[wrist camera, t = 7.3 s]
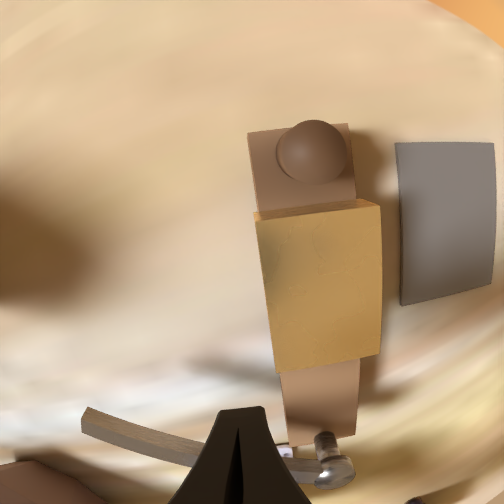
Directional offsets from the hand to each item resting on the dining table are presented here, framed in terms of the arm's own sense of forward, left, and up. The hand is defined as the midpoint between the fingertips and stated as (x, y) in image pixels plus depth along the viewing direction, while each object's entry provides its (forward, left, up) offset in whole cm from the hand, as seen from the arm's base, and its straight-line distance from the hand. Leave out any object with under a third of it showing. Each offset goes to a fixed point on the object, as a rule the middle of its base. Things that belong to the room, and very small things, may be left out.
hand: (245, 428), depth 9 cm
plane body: (-1, -4, -10) cm, 11 cm away
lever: (-6, +2, -7) cm, 9 cm away
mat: (+3, -14, -10) cm, 17 cm away
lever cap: (+2, -4, -7) cm, 8 cm away
